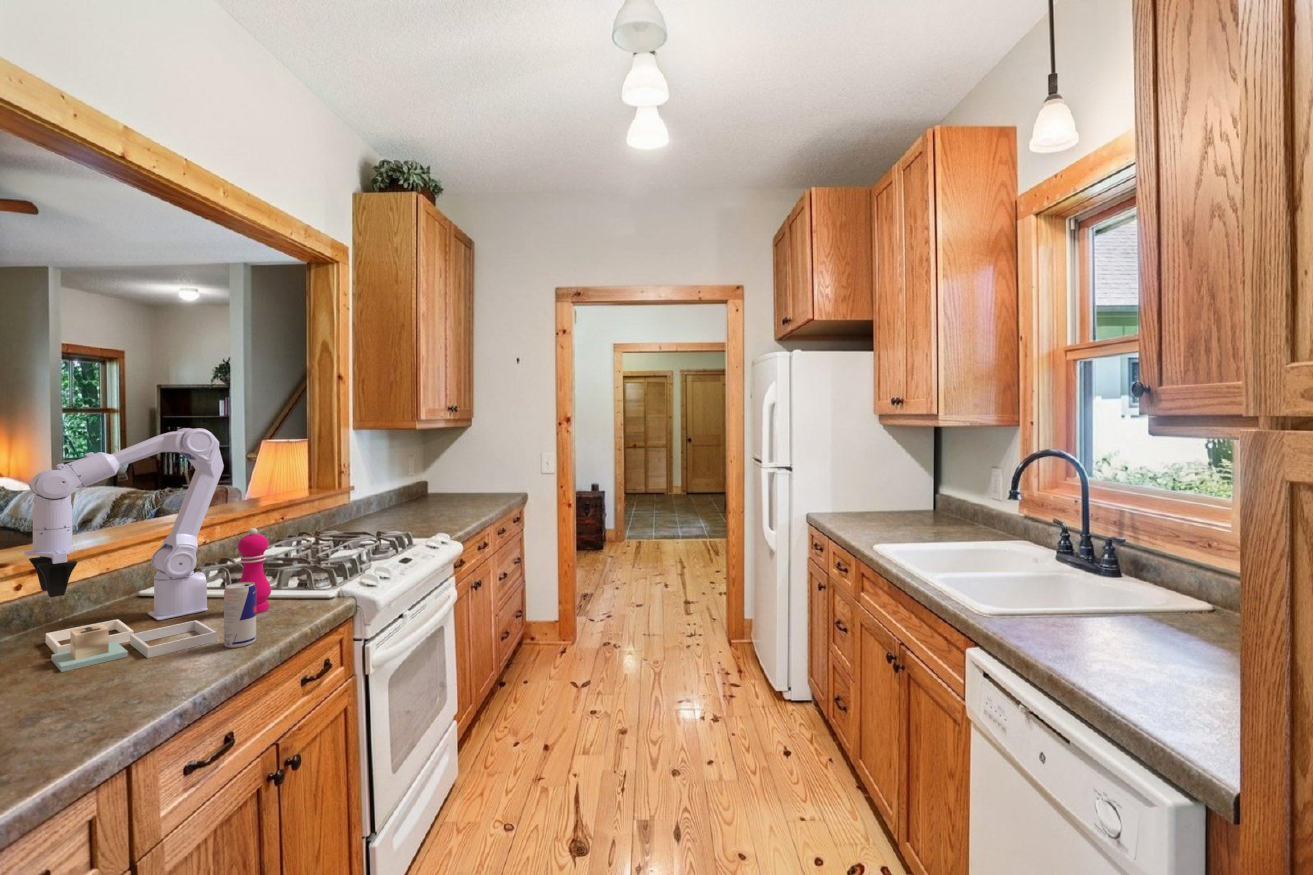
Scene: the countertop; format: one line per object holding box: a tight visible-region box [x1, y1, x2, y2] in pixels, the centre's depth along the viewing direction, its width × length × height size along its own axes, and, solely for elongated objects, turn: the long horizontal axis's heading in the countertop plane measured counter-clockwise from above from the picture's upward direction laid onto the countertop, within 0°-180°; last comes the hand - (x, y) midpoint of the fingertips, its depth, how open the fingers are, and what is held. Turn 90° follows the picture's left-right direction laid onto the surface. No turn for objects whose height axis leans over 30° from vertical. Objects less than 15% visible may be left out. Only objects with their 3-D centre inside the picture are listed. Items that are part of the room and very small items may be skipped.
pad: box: [51, 641, 129, 673], centre depth 110 cm, size 9×9×1 cm
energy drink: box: [223, 582, 257, 649], centre depth 118 cm, size 5×5×12 cm
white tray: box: [45, 619, 135, 654], centre depth 118 cm, size 11×12×2 cm
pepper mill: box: [237, 527, 272, 614], centre depth 139 cm, size 7×7×20 cm
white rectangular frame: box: [129, 619, 218, 659], centre depth 118 cm, size 11×12×2 cm
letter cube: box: [69, 624, 110, 660], centre depth 110 cm, size 4×4×5 cm
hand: (53, 592), depth 120 cm, fingers open, 7 cm apart
